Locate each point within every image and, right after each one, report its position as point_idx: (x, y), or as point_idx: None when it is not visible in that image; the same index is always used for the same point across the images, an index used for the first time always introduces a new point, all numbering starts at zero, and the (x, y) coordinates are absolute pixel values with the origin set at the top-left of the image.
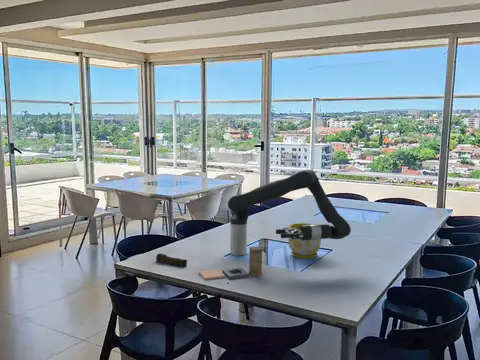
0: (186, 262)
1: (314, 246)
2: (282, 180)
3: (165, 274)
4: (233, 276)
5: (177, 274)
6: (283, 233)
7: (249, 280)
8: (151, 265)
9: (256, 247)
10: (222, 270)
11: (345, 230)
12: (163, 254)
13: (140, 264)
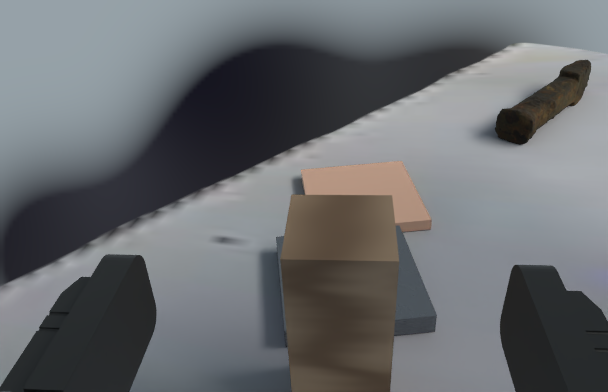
0: (524, 129)
1: None
2: None
3: (403, 104)
4: (278, 256)
5: (398, 124)
6: (101, 286)
7: (218, 335)
8: (518, 82)
9: (356, 232)
10: (398, 228)
11: None
12: (579, 68)
13: (527, 67)
